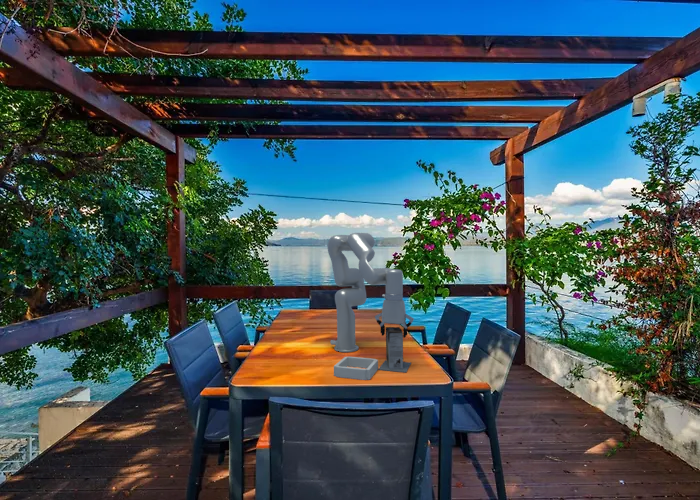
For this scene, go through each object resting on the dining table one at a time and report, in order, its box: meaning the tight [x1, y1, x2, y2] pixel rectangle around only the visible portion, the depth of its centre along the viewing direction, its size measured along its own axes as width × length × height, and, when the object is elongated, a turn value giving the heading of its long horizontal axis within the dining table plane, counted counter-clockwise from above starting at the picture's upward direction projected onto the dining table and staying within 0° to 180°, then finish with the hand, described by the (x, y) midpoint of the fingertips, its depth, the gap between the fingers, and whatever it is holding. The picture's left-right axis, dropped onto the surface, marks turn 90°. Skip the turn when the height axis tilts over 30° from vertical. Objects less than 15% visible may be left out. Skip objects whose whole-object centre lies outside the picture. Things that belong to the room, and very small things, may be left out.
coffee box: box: [385, 326, 404, 369], centre depth 155 cm, size 9×6×16 cm
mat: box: [377, 359, 412, 374], centre depth 154 cm, size 12×13×1 cm
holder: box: [333, 356, 379, 381], centre depth 148 cm, size 15×15×4 cm
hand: (393, 335), depth 155 cm, fingers open, 9 cm apart
